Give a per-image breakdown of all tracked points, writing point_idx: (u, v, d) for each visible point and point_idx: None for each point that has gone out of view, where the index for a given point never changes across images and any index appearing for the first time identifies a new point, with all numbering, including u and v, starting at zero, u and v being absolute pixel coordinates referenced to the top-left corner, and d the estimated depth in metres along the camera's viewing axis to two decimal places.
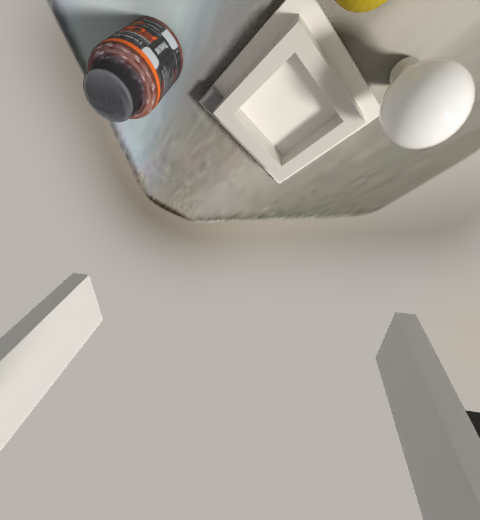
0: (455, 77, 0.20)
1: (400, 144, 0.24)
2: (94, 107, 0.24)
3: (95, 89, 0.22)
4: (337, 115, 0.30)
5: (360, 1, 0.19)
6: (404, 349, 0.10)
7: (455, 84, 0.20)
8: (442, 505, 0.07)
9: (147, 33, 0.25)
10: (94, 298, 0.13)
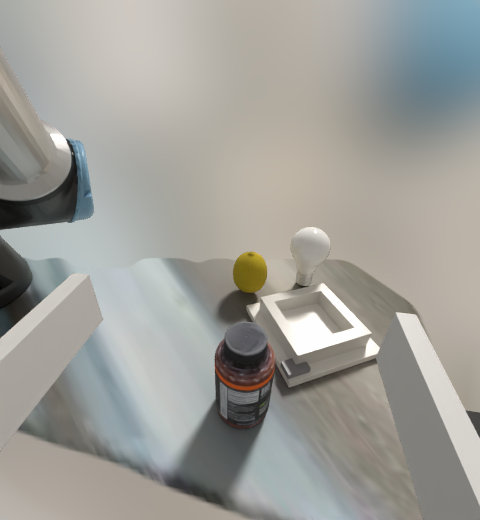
0: None
1: (325, 243, 0.44)
2: (248, 352, 0.25)
3: (237, 340, 0.26)
4: (320, 303, 0.45)
5: (260, 262, 0.44)
6: (404, 349, 0.10)
7: None
8: (442, 505, 0.07)
9: None
10: (94, 298, 0.13)
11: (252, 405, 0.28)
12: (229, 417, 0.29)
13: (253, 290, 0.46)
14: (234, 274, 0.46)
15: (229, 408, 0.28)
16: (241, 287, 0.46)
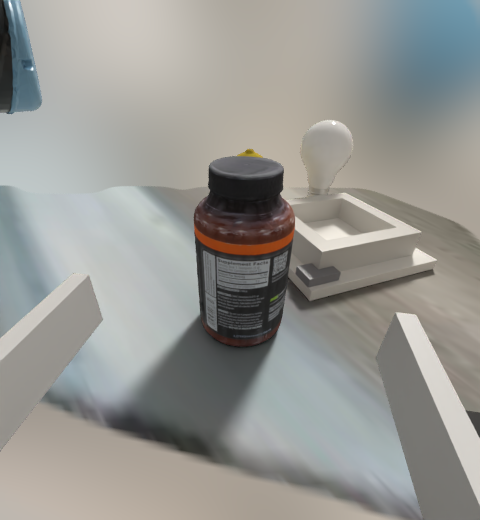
0: None
1: (347, 135, 0.33)
2: (250, 174, 0.14)
3: (230, 166, 0.15)
4: (341, 217, 0.34)
5: None
6: (404, 349, 0.10)
7: None
8: (442, 505, 0.07)
9: None
10: (94, 298, 0.13)
11: (258, 294, 0.16)
12: (220, 325, 0.18)
13: None
14: None
15: (219, 303, 0.17)
16: None
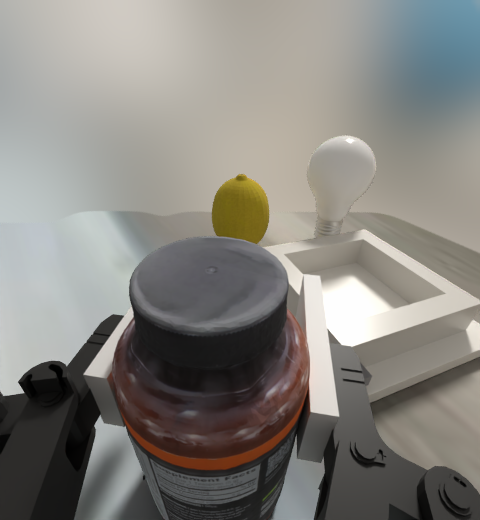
0: None
1: (369, 156, 0.25)
2: (210, 320, 0.06)
3: (174, 282, 0.07)
4: (361, 262, 0.26)
5: (258, 190, 0.25)
6: (303, 301, 0.12)
7: None
8: None
9: None
10: None
11: (238, 505, 0.08)
12: None
13: None
14: (213, 215, 0.27)
15: (168, 506, 0.09)
16: None
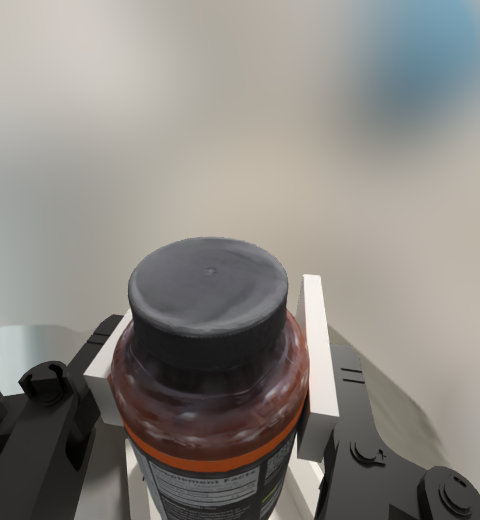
0: None
1: None
2: (209, 322, 0.06)
3: (173, 283, 0.07)
4: None
5: None
6: (303, 301, 0.12)
7: None
8: None
9: None
10: None
11: (238, 506, 0.08)
12: None
13: None
14: None
15: (167, 508, 0.09)
16: None
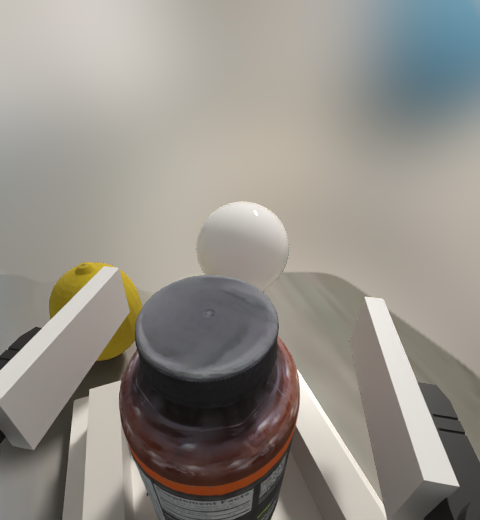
0: None
1: (270, 239, 0.17)
2: (207, 367, 0.07)
3: (175, 326, 0.08)
4: None
5: None
6: (369, 329, 0.11)
7: None
8: (392, 464, 0.08)
9: None
10: (123, 290, 0.14)
11: None
12: None
13: (100, 357, 0.19)
14: None
15: None
16: None
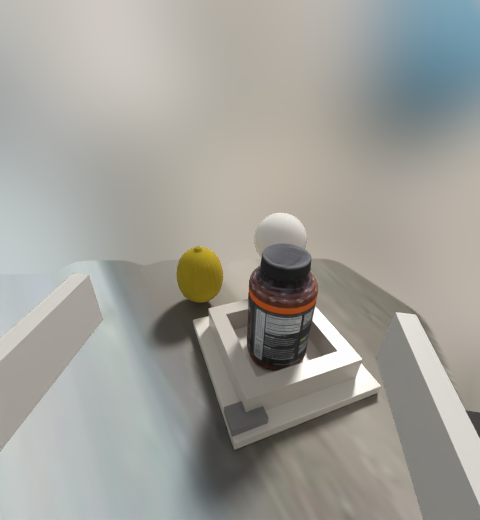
0: None
1: (297, 232, 0.32)
2: (291, 266, 0.22)
3: (277, 257, 0.23)
4: None
5: (210, 260, 0.33)
6: (404, 349, 0.10)
7: (264, 218, 0.35)
8: (442, 505, 0.07)
9: None
10: (94, 298, 0.13)
11: (293, 337, 0.24)
12: (264, 356, 0.26)
13: (203, 299, 0.34)
14: (177, 277, 0.34)
15: (265, 342, 0.25)
16: (187, 295, 0.34)
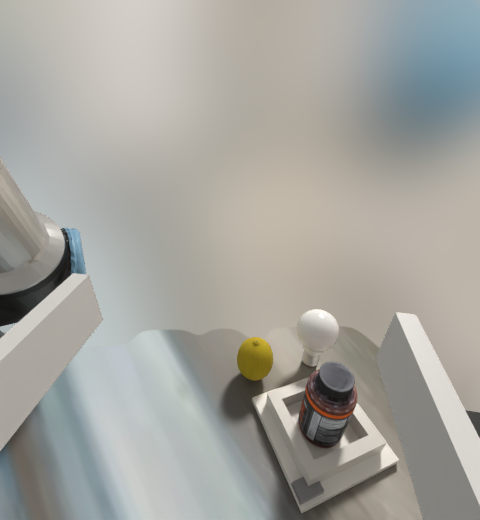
0: (303, 315, 0.45)
1: (333, 331, 0.42)
2: (342, 389, 0.31)
3: (330, 379, 0.33)
4: None
5: (266, 351, 0.42)
6: (404, 349, 0.10)
7: (305, 313, 0.45)
8: (442, 505, 0.07)
9: None
10: (94, 298, 0.13)
11: (339, 430, 0.34)
12: (316, 439, 0.36)
13: (259, 379, 0.43)
14: (238, 362, 0.43)
15: (318, 431, 0.35)
16: (246, 376, 0.43)
